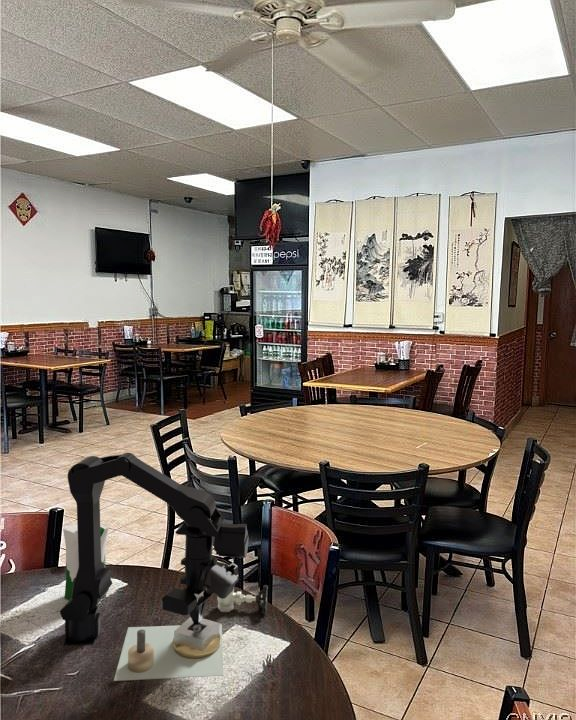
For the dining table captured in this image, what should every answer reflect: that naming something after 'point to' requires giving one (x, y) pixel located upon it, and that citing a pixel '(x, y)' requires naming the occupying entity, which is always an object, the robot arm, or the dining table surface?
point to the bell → (195, 653)
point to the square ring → (196, 634)
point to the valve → (238, 597)
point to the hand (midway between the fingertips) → (197, 623)
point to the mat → (167, 657)
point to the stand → (140, 655)
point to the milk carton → (72, 555)
